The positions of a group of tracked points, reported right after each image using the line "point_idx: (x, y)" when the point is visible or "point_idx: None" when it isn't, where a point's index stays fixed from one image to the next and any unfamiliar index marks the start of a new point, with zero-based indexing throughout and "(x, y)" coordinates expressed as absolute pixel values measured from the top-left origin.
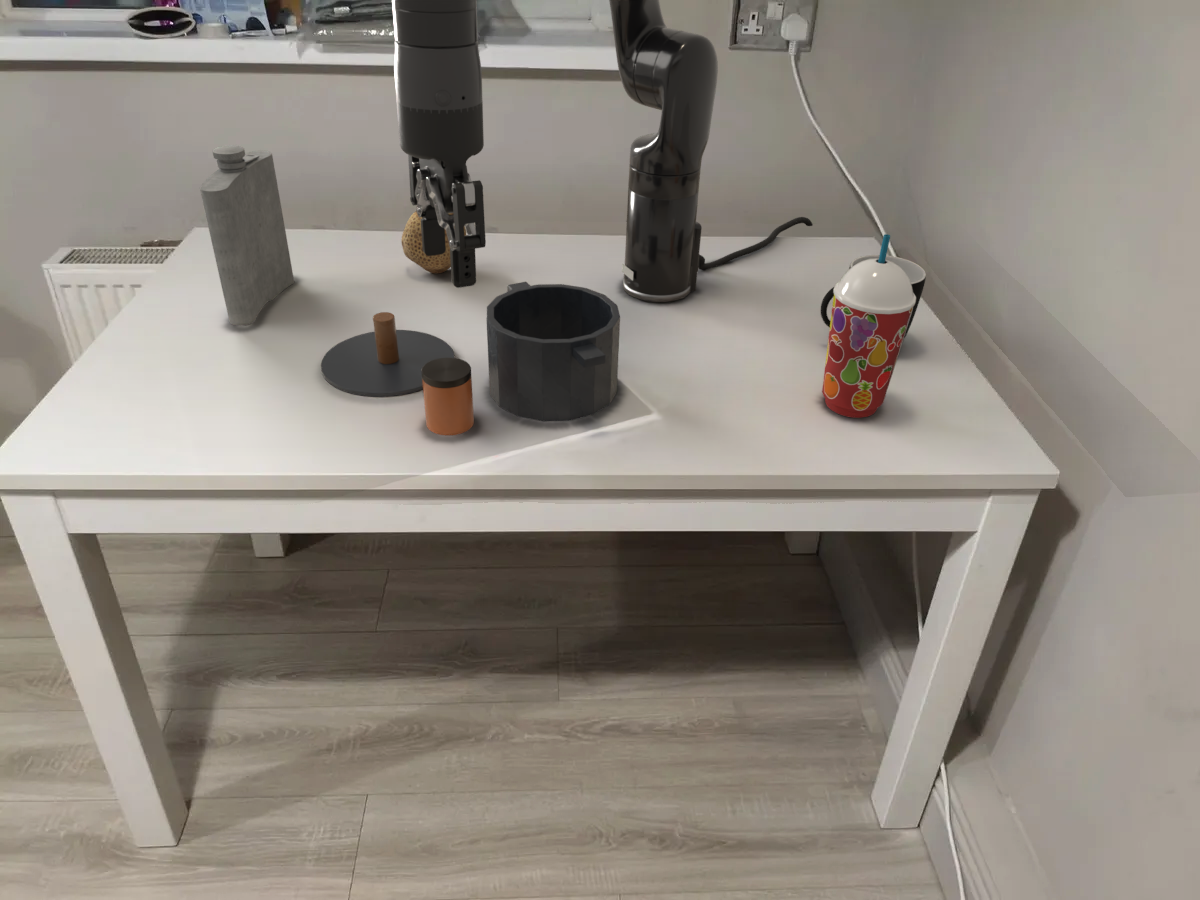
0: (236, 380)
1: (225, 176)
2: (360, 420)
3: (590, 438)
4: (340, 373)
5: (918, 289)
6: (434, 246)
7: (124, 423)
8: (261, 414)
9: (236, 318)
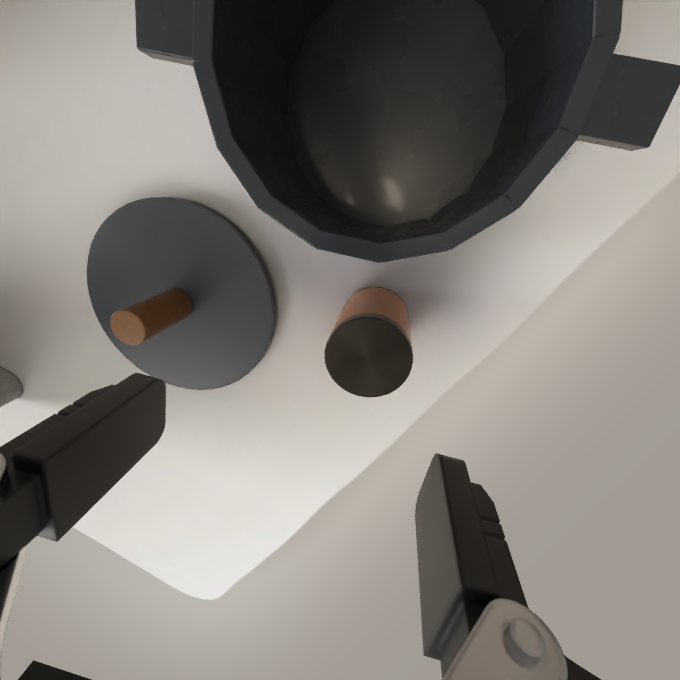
0: None
1: None
2: (292, 393)
3: None
4: (188, 372)
5: None
6: (144, 425)
7: (181, 537)
8: (223, 458)
9: (5, 402)
